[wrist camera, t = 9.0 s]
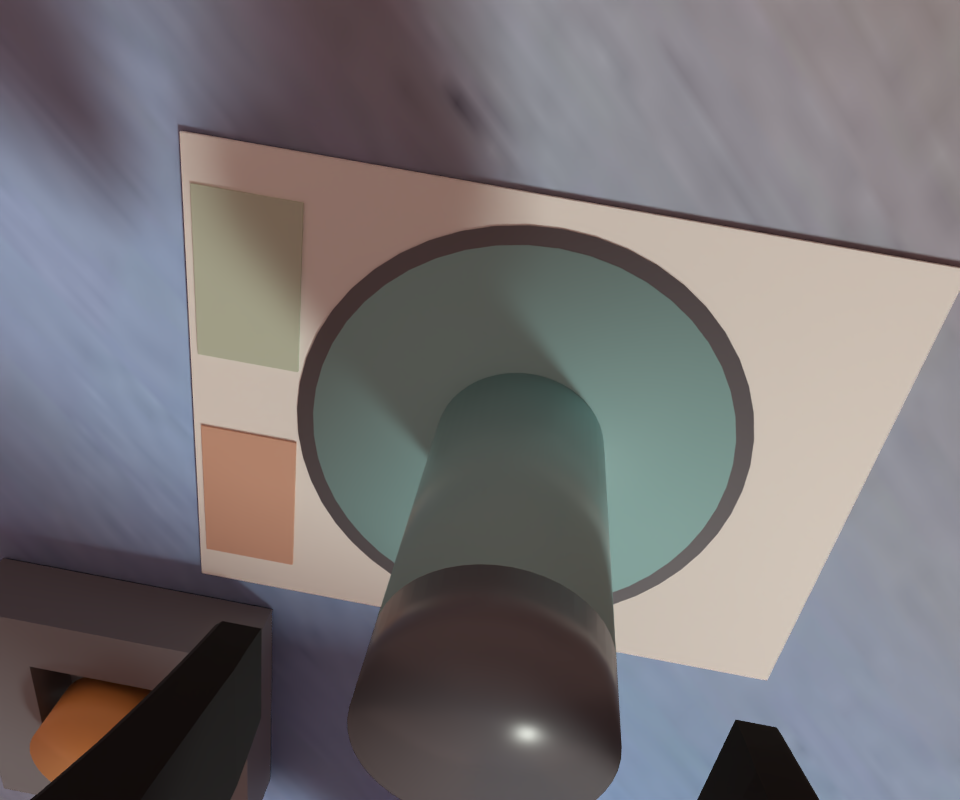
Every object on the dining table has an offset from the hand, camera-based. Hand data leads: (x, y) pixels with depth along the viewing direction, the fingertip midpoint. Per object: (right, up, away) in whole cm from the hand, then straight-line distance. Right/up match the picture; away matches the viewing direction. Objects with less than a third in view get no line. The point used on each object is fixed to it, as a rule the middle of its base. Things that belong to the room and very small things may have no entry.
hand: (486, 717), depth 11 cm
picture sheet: (+1, +4, +7) cm, 8 cm away
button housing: (-11, -4, +12) cm, 17 cm away
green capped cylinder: (+1, +4, +6) cm, 8 cm away
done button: (-11, -5, +11) cm, 16 cm away
